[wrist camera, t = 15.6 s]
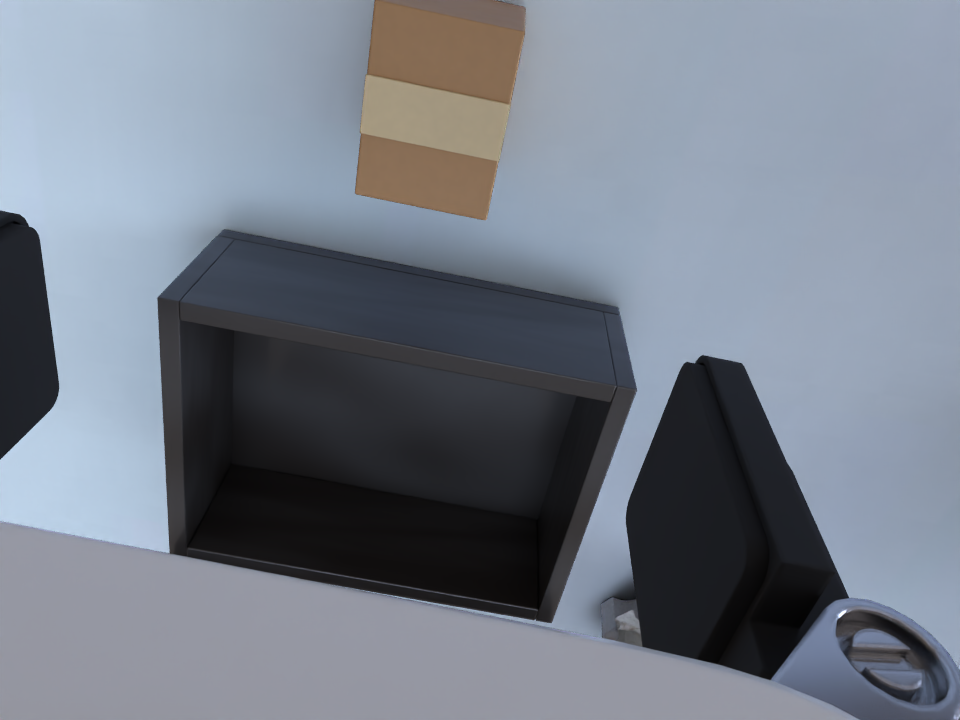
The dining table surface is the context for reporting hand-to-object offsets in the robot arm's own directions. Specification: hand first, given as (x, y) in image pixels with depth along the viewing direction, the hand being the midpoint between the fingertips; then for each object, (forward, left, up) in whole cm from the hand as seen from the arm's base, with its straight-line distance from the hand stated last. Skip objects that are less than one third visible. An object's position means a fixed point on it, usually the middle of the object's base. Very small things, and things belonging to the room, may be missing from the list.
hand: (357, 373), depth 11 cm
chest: (0, +15, -21) cm, 26 cm away
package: (+1, 0, -21) cm, 21 cm away
